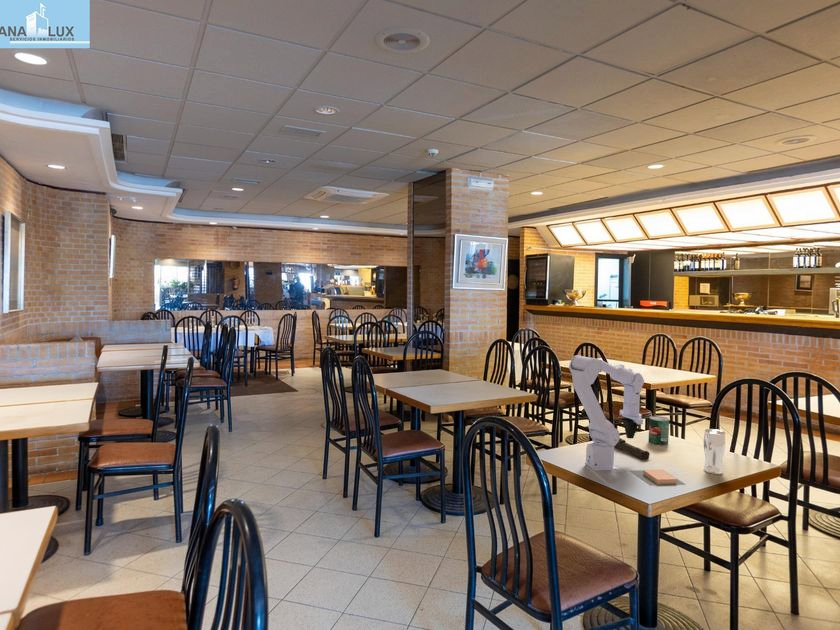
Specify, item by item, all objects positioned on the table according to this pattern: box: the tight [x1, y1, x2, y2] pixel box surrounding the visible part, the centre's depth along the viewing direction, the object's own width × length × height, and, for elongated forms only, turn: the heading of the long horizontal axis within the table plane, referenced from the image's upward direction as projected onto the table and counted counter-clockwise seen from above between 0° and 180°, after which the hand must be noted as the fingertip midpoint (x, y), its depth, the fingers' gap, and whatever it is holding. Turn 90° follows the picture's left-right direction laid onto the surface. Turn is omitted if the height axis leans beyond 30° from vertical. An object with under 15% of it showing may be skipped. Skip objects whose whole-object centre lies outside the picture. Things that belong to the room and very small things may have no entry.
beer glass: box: [703, 428, 726, 475], centre depth 189 cm, size 7×7×15 cm
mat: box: [629, 469, 687, 486], centre depth 182 cm, size 13×14×1 cm
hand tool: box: [614, 437, 651, 461], centre depth 210 cm, size 19×4×5 cm, turn 16°
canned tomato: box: [648, 415, 670, 447], centre depth 223 cm, size 8×8×11 cm
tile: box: [642, 469, 678, 484], centre depth 180 cm, size 7×2×9 cm
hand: (630, 437), depth 198 cm, fingers closed
